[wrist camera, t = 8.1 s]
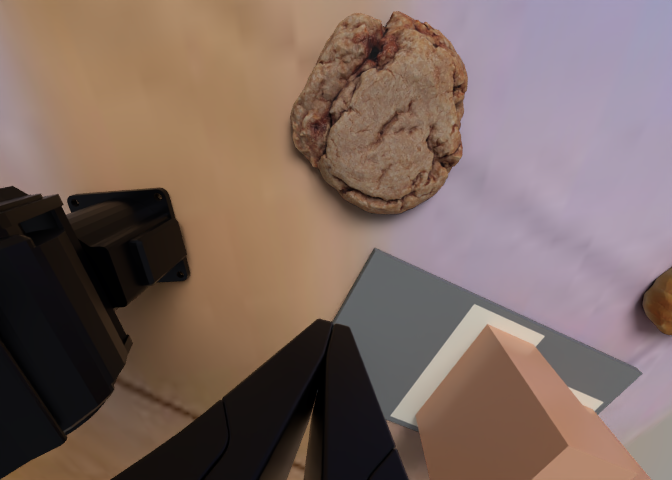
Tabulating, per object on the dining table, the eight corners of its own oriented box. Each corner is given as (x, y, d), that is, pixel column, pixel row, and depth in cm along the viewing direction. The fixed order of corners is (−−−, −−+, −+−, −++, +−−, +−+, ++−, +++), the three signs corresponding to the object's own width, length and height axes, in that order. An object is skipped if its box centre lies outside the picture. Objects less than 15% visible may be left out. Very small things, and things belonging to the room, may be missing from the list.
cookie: (355, 234, 22) (356, 252, 19) (262, 87, 19) (247, 82, 16) (495, 156, 20) (521, 163, 17) (418, -26, 16) (432, -55, 14)
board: (299, 380, 26) (298, 385, 25) (374, 247, 22) (375, 251, 21) (528, 468, 29) (531, 475, 28) (635, 367, 24) (642, 373, 24)
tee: (415, 415, 26) (447, 556, 18) (487, 324, 23) (568, 445, 14) (535, 462, 28) (617, 612, 19) (620, 383, 24) (763, 524, 16)
